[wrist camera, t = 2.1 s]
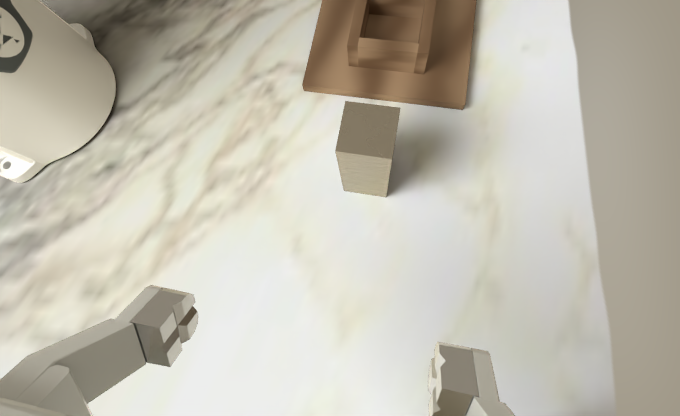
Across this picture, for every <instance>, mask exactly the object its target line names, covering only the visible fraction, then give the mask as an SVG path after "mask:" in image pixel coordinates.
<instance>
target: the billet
mask: <svg viewBox="0 0 680 416" xmlns="http://www.w3.org/2000/svg"><path fill="white" fill-rule="evenodd" d="M399 113H400V108H397V107H389V106H381V105H373V104H364V103H356V102H348V101H345V106H344V111H343V116H342V121H341V126H340V131H339V136H338V141H337V146H336V151H335V152H336V156H337V161H338V166H339V170H340V175H341V180H342V184H343V189H344V191H349V192H355V193H362V194H368V195H375V196H381V197H386V195H387V189H388V182H389V176H390V170H391V164H392V158H393V151H394V145H395V139H396V132H397V126H398V120H399Z"/></svg>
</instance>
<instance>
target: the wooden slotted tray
mask: <svg viewBox="0 0 680 416" xmlns="http://www.w3.org/2000/svg"><path fill="white" fill-rule="evenodd" d="M475 9H476V0H322V4H321V9H320V13H319V17H318V21H317V25H316V30H315V34H314V38H313V42H312V46H311V51H310V55H309V59H308V63H307V67H306V72H305V76H304V80H303V84H302V86H303V89H304V91H311V92H319V93H327V94H336V95H344V96H352V97H361V98H369V99H377V100H386V101H394V102H402V103H411V104H419V105H427V106H436V107H444V108H452V109H461V110H463V108H464V106H465V102H466V92H467V83H468V74H469V65H470V55H471V46H472V37H473V28H474V19H475Z"/></svg>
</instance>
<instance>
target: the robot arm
mask: <svg viewBox="0 0 680 416" xmlns="http://www.w3.org/2000/svg"><path fill="white" fill-rule="evenodd" d="M115 92H116V82H115V76H114V73H113V70H112V68H111V66H110V64H109V63H108V61H107V60H106V59H105V58H104V57H103V56H102V55H101V54H100V53H99V52H98V51H97V50H96V48H95V46H94V42H93V38H92V35H91V33H90V31H89V30H87V29H86V28H85V27H84V26H82V25H81V24H78V23H73V24H68V23H66V22H65V21H64V20H63V19H61V18H60V17H59V16H58V15H57V14H55V13H54V12H53V11H52V10H50V9H49V8H48V7H47V6H45V5H44V4H43V3H42V2H40V1H39V0H0V176H2V177H4V178H7V179H9V180H11V181H14V182H17V183H22V182H25V181H27V180H29V179H30V178H32V177H33V176H34V175H35V174H37V173H38V172H39V171H40V170H41V169H42V168H43V167H45V166H46V165H47V164H49V163H51V162H53V161H55V160H57V159H60V158H62V157H64V156H67V155H69V154H71V153H72V152H74V151H76V150H77V149H79V148H80V147H82V146H83V145H84V144H86V143H87V142H88V141H89V140H90V139H91V138H92V137H93V136H94V135H95V134H96V133H97V132H98V131H99V130H100V128H101V127H102V126H103V124H104V123H105V121H106V119H107V117H108V116H109V113H110V111H111V109H112V106H113V103H114V99H115ZM194 303H195V298H194V295H193V294H190V293H186V292H181V291H177V290H173V289H168V288H163V287H158V286H154V285H150V286H148V287H146V288H145V289H144V290H143V291H142V292H141V293H140V294H139V295H138V296H137V297H136V298H135V299H134V300H133V301H132V302H131V303H130V304H129V305H128V306H127V307H126V308H125V309H124V310H123V311H122V312H121V313H120V314H119V315H118V316H117V317H116V318H115V319H109V320H106V321H104V322H102V323H100V324H97V325H95V326H93V327H91V328H89V329H86V330H84V331H82V332H80V333H77V334H75V335H73V336H71V337H68V338H66V339H64V340H62V341H60V342H57V343H55V344H53V345H51V346H48V347H46V348H44V349H42V350H39V351H37V352H35V353H33V354H31V355H28V356H27V357H25V358H24V359H23V360H22V361H21V362H20V363H19V364H18V365H16V366H15V367H14V368H13V369H12V370H11V371H10V372H9V373H7V374H6V375H5V376H4V377H3V378H2V379H1V380H0V416H93V415H92V413H91V411H90V409H89V407H88V405H87V404H88V403H89V402H91V401H92V400H93V399H95V398H96V397H98V396H99V395H101V394H102V393H104V392H105V391H107V390H108V389H110V388H111V387H113V386H114V385H116V384H117V383H119V382H120V381H122V380H123V379H125V378H126V377H127V376H129V375H130V374H132V373H133V372H135V371H136V370H138V369H139V368H141V367H142V366H144V365H145V364H146V362H147V363H152V364H158V365H163V366H168V367H171V365H172V364H173V363H174V361H175V360H176V358H177V357H178V355H179V354H180V353H181V351H182V343H184V342H186V341H187V340H189V339H190V338H191V337H192V335H193V334H194V332H195V329H196V327H197V324H198V312H197V311H196V309H195V308H194V307H193V305H194ZM434 355H435V357H434V358H433V359H431V363H430V368H429V374H428V391H429V392H430V394H431V398H430V401H429V404H428V407H429V416H515V415H514V414H513V412H512V411H511V410H510V409H509V407H508V406H507V405H506V404H505V403H502V402H500V401H499V396H498V391H497V386H496V381H495V377H494V372H493V367H492V362H491V357H490V354H489V352H488V351H484V350H479V349H473V348H469V347H464V346H458V345H453V344H448V343H442V342H437V343H436V346H435V349H434Z"/></svg>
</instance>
